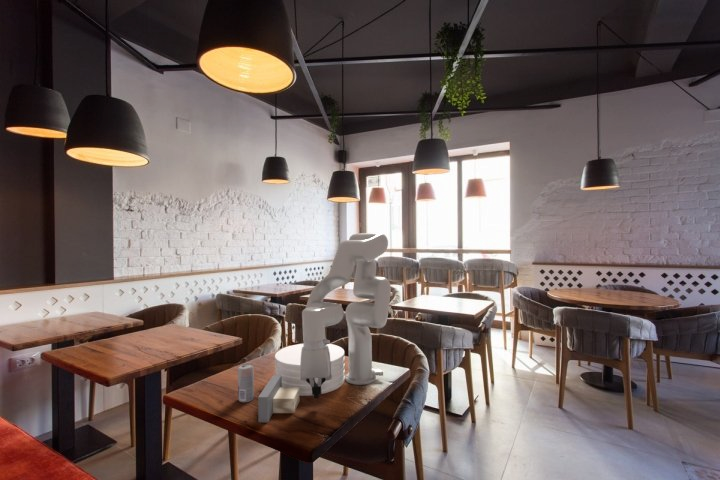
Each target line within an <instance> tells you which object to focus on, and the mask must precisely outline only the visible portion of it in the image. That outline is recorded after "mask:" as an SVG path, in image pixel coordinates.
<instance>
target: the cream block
mask: <svg viewBox="0 0 720 480" xmlns="http://www.w3.org/2000/svg"><path fill="white" fill-rule="evenodd" d="M299 403H300V396H299V387H280V388H279V390H278V391H277V393H276V394H275V396H274V398H273V414H295V412H296V410H297V407H298V405H299Z"/></svg>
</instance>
